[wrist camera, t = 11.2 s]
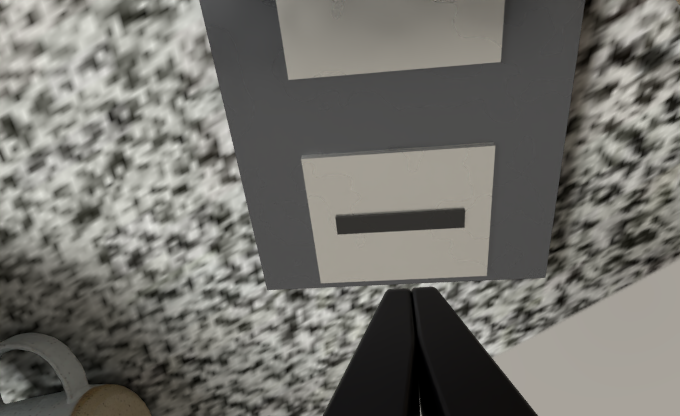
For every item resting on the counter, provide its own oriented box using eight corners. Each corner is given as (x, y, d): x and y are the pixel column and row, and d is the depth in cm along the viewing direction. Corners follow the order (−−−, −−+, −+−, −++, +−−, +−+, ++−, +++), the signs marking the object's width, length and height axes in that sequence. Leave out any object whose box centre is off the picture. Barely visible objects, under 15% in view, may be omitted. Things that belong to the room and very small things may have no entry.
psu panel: (272, 268, 24) (265, 296, 22) (182, -141, 16) (160, -143, 14) (535, 255, 23) (548, 284, 21) (593, -194, 14) (620, -203, 13)
